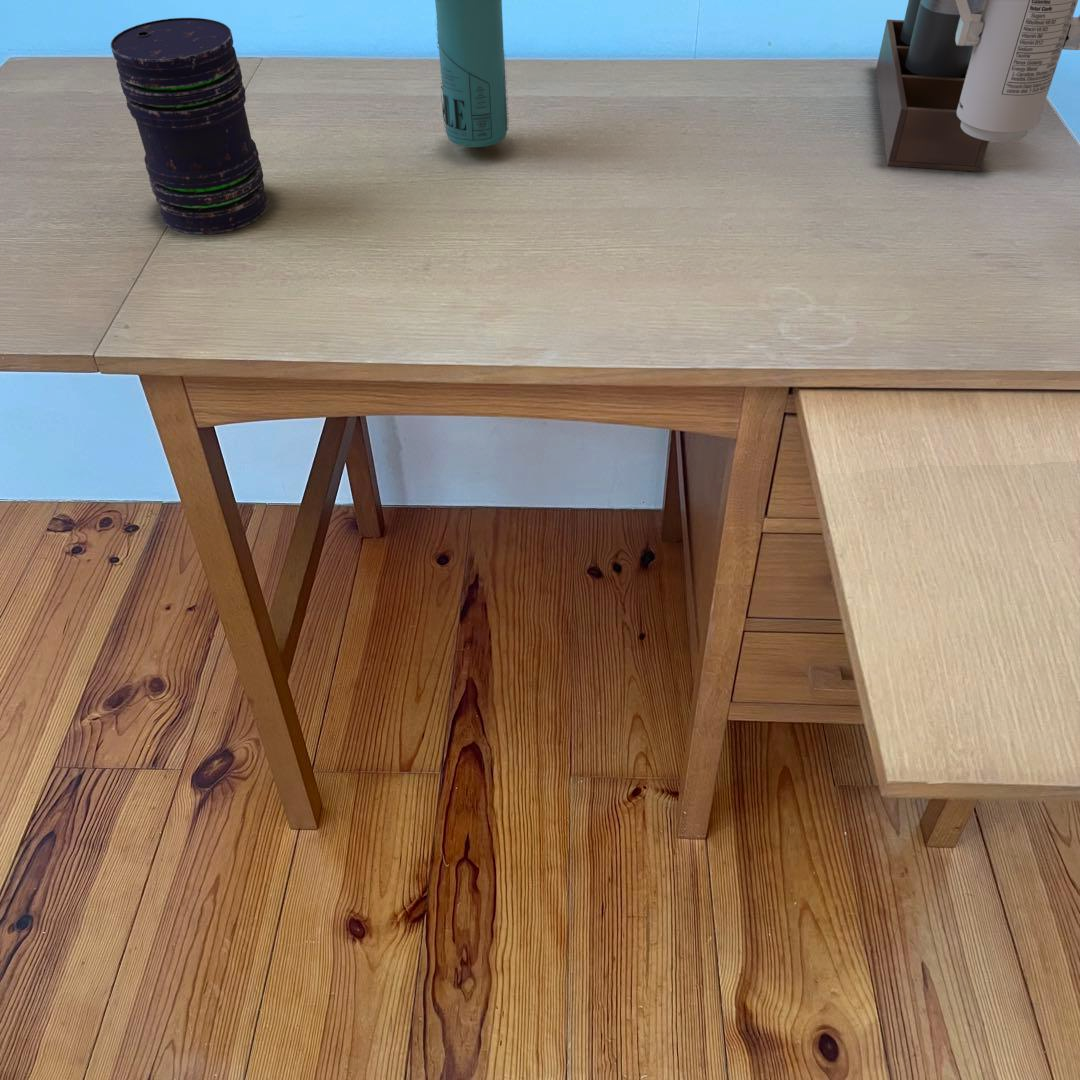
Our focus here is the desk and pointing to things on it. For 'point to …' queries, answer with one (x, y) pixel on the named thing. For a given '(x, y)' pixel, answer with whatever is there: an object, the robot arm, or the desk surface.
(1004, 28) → the energy drink can
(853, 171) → the desk surface
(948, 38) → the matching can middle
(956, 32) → the robot arm
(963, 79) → the can rack
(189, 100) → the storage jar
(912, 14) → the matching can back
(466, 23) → the beverage bottle
